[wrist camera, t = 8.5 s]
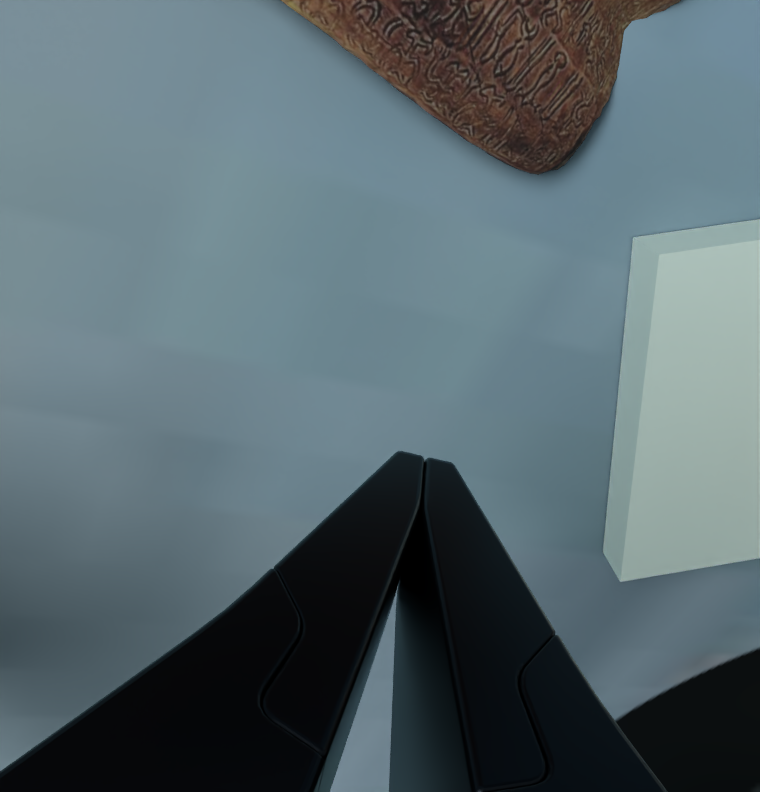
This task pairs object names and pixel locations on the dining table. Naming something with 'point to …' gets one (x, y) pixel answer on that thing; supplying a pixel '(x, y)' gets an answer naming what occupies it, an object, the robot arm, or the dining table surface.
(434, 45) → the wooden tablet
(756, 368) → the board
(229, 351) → the dining table surface
